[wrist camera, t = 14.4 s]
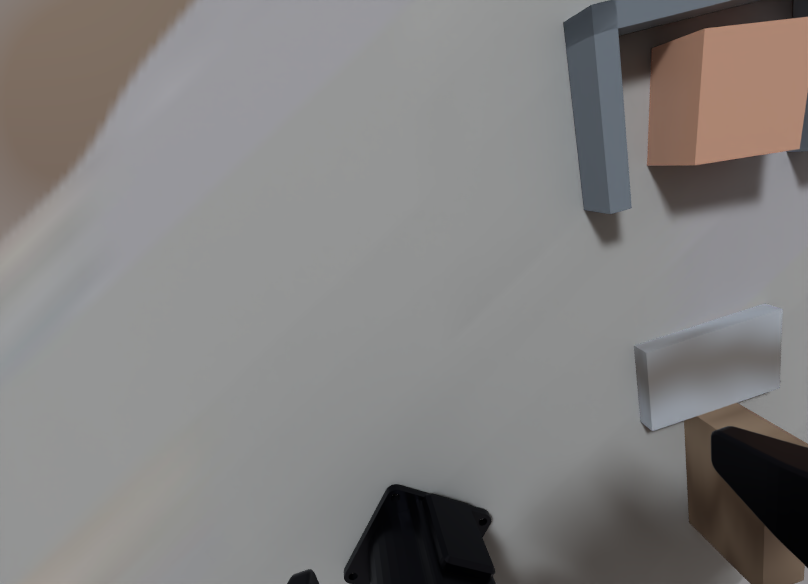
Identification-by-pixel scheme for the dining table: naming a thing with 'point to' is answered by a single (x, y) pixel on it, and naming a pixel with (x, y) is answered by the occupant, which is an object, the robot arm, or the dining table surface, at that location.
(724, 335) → the turner
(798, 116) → the salmon pink box
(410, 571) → the robot arm
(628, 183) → the frame
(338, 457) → the dining table surface
